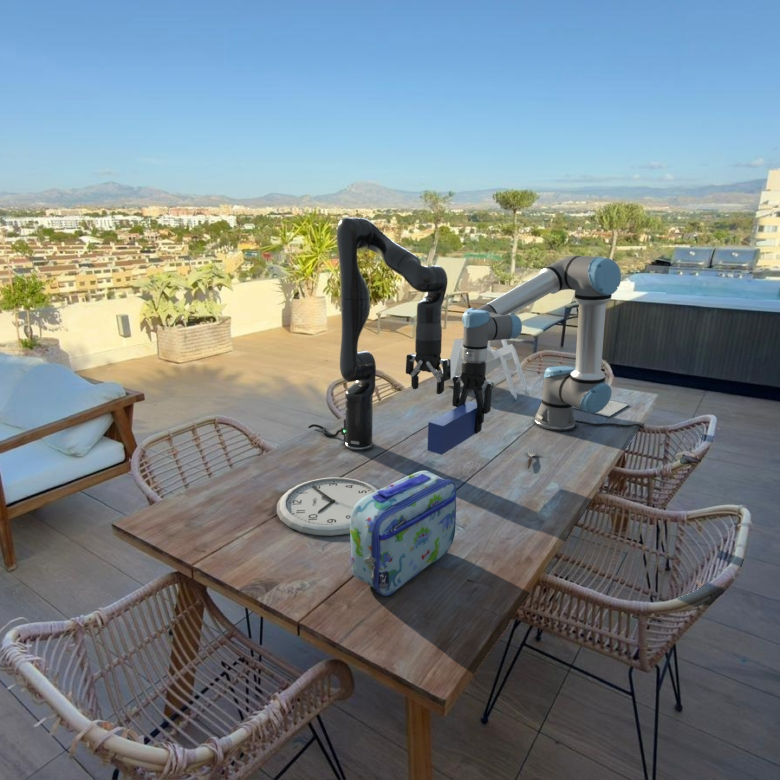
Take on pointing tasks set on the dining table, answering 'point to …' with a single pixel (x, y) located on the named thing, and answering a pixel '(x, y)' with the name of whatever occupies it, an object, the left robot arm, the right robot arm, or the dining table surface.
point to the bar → (452, 428)
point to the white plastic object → (490, 363)
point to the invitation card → (611, 408)
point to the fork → (531, 456)
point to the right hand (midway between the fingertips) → (469, 429)
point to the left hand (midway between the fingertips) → (427, 391)
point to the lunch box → (402, 530)
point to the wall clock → (322, 505)
